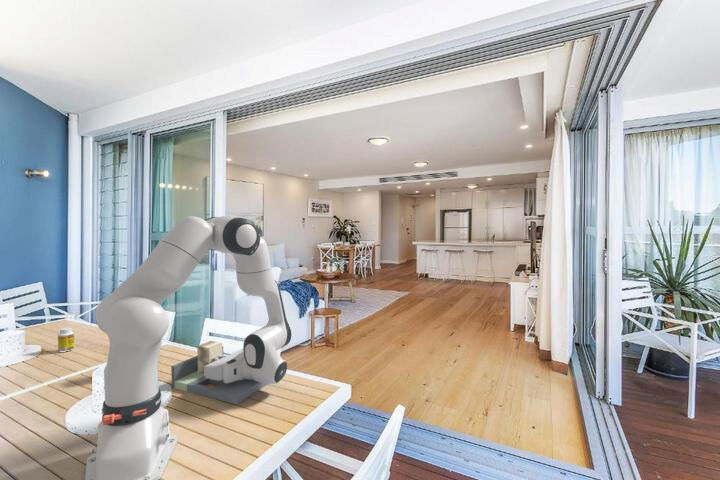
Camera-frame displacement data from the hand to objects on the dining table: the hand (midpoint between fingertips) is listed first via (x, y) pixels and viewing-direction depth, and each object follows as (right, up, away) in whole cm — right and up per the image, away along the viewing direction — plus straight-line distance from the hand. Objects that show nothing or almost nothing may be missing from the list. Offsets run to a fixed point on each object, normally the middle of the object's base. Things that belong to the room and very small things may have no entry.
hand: (215, 358), depth 123 cm
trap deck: (+6, -8, -2) cm, 10 cm away
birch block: (-3, -5, +2) cm, 6 cm away
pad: (-4, -8, +2) cm, 9 cm away
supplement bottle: (-82, -7, +31) cm, 88 cm away
